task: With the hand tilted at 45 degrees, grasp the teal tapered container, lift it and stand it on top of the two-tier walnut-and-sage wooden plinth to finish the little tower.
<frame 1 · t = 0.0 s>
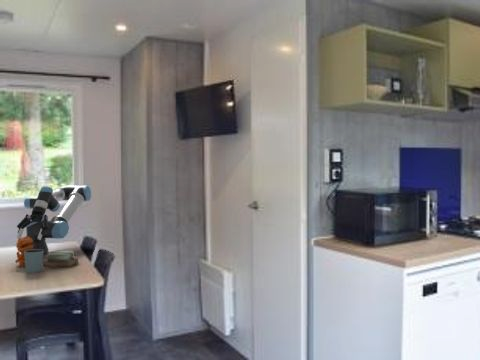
hand: (28, 239, 274), 15 cm above the table, tool tilted 35°, fingers open, 13 cm apart
toy dinosaur: (25, 265, 272), on the table
plinth: (60, 264, 274), on the table
teal tapered container: (34, 271, 257), on the table
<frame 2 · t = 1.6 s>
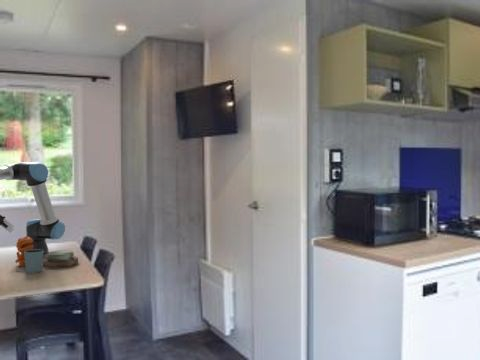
hand: (12, 229, 251), 25 cm above the table, tool tilted 45°, fingers open, 13 cm apart
nothing on the table moved.
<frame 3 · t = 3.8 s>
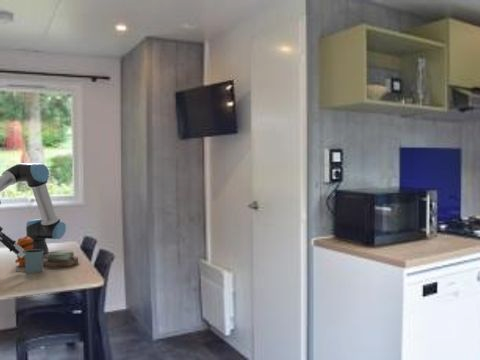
hand: (23, 254, 254), 11 cm above the table, tool tilted 45°, fingers open, 13 cm apart
nothing on the table moved.
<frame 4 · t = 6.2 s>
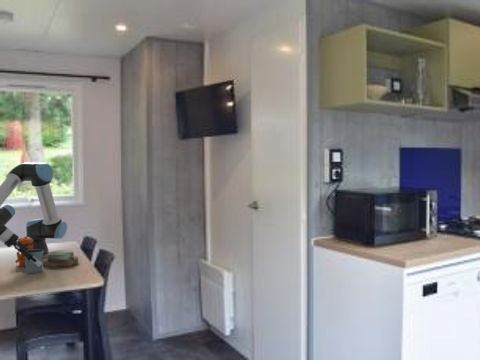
hand: (40, 263, 259), 4 cm above the table, tool tilted 45°, fingers closed on teal tapered container, 10 cm apart
teal tapered container: (34, 271, 257), on the table, touching gripper
everything else where it was.
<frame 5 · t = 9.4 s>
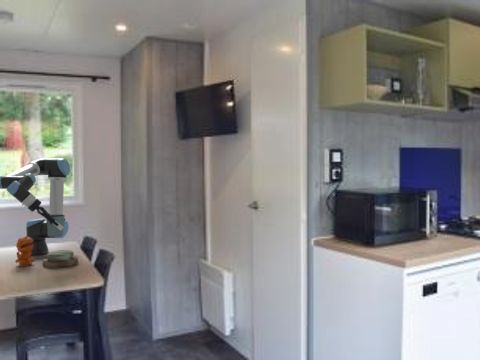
hand: (61, 227, 271), 23 cm above the table, tool tilted 45°, fingers closed on teal tapered container, 10 cm apart
teal tapered container: (55, 235, 270), point 18 cm above the table, touching gripper
everything else where it was.
when the fingers open (13 cm above the table, at t = 12.6 s): teal tapered container drops 1 cm, resting on plinth.
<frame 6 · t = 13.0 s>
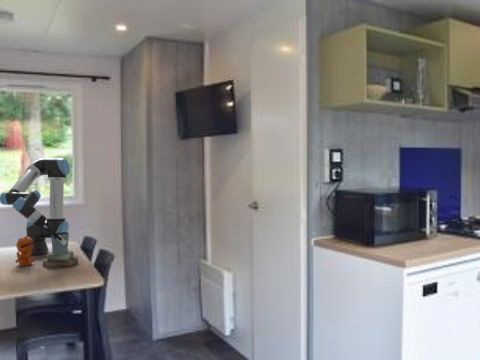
hand: (64, 241, 275), 14 cm above the table, tool tilted 45°, fingers open, 13 cm apart
teal tapered container: (60, 253, 274), point 7 cm above the table, touching plinth
everything else where it was.
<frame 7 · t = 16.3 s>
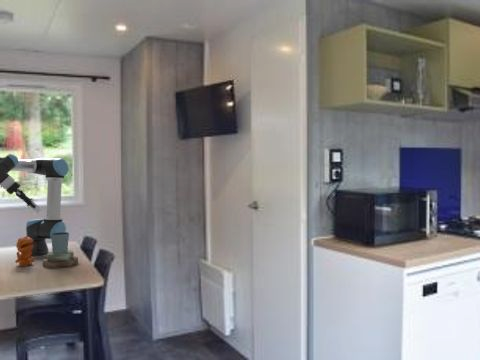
hand: (38, 210, 268), 34 cm above the table, tool tilted 45°, fingers open, 13 cm apart
nothing on the table moved.
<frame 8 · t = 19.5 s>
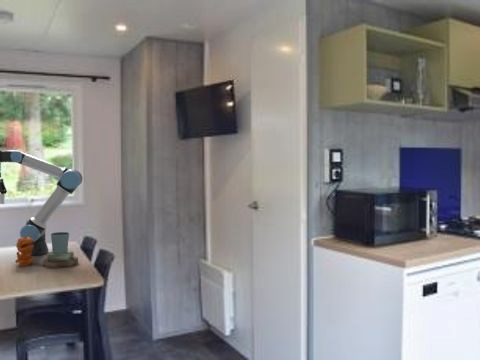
nothing on the table moved.
at the end: teal tapered container inside the target area on the plinth (0.1 cm from its centre), point 6.8 cm above the plinth's base; teal tapered container tilted 0°; the gripper is holding nothing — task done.
